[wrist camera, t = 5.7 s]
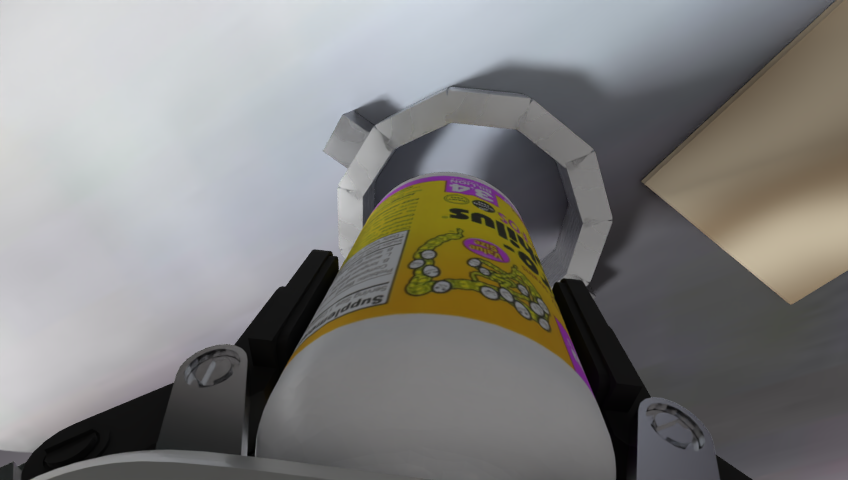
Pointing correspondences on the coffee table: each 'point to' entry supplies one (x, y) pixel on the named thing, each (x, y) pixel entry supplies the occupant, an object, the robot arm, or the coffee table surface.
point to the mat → (775, 165)
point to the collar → (575, 159)
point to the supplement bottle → (440, 352)
